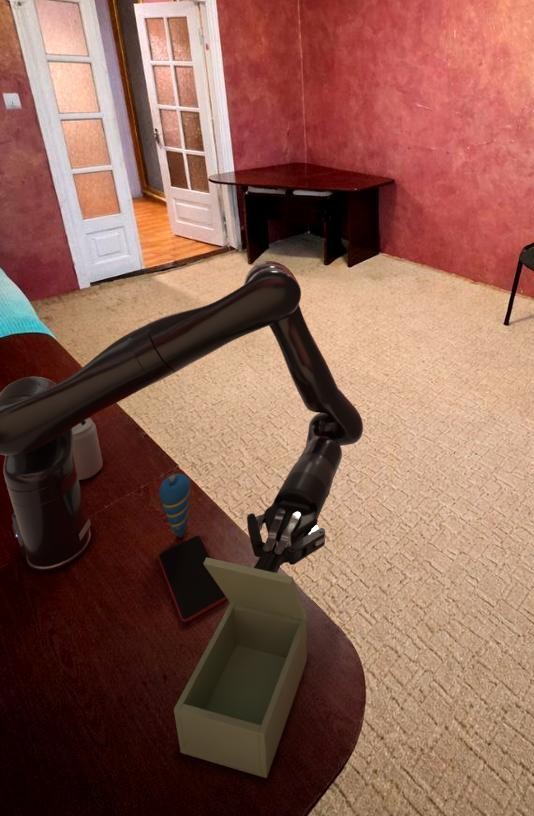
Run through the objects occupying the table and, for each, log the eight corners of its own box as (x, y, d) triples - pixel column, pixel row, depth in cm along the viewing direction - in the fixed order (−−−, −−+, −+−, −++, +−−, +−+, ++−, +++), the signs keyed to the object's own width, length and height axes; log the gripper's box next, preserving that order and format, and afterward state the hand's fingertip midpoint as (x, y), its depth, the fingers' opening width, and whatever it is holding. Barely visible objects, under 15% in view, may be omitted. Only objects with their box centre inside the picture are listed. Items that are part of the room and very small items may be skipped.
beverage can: (109, 462, 106) (101, 417, 102) (89, 484, 100) (79, 436, 96) (82, 459, 106) (73, 413, 102) (60, 480, 100) (49, 433, 96)
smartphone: (199, 533, 89) (229, 595, 79) (199, 536, 90) (230, 599, 79) (156, 553, 85) (182, 622, 74) (157, 557, 85) (183, 626, 74)
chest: (266, 778, 59) (264, 734, 56) (180, 753, 60) (173, 709, 57) (307, 660, 71) (306, 619, 68) (234, 641, 73) (231, 601, 70)
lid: (290, 583, 58) (292, 576, 59) (203, 563, 60) (206, 557, 61) (305, 620, 68) (307, 613, 68) (229, 602, 70) (232, 595, 70)
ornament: (199, 526, 92) (193, 463, 87) (189, 549, 87) (182, 484, 82) (172, 525, 92) (163, 462, 87) (160, 549, 87) (150, 483, 82)
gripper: (268, 463, 80) (211, 552, 64) (344, 477, 78) (306, 573, 62) (269, 498, 83) (215, 592, 67) (343, 513, 81) (306, 613, 65)
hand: (259, 582), depth 64 cm, fingers closed
